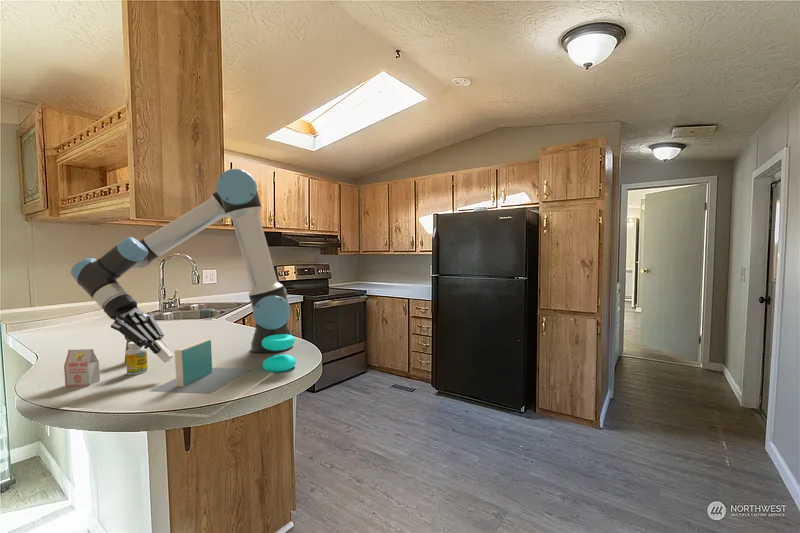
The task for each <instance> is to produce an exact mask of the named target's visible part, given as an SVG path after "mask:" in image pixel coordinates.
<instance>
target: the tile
mask: <svg viewBox="0 0 800 533" xmlns="http://www.w3.org/2000/svg"><path fill="white" fill-rule="evenodd" d="M174 360H175V361H174V362H175V379H176V385H177V386H185V385H187V384H189V383H191V382H193V381H195V380H197V379H199V378H201V377H203V376H205V375H207V374H209V373H211V372H212V368H213V361H212V360H213V358H212V340H211V339H201V340H198V341H196V342H194V343H191V344H188V345H186V346H185V345H184V346H183V347H180V348H177V349H175V350H174Z"/></svg>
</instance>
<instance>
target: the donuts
mask: <svg viewBox="0 0 800 533" xmlns="http://www.w3.org/2000/svg"><path fill="white" fill-rule="evenodd" d="M295 342H296V339H295V337H294V336H293V335H292V334H291V335H288V334H278V335H271V336H268V337H265V338H264V339H263V340H262V346H263V347H264V348H265V349H268V350H284V349H287V348H289V347H291V346H292V345H293V346H294V345H295ZM287 350H288V349H287ZM284 351H285V350H284ZM296 362H297V360H296V358H295V357H294V356H292V355H289V354H275V355H271V356H269V357H267V358H266V359H264V360H263V362H262V369H263V370H264V371H266V372H273V373H281V371H282V372H286V371H289V370H291V369H292V368H294V367H295V366H296Z"/></svg>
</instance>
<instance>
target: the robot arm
mask: <svg viewBox="0 0 800 533" xmlns="http://www.w3.org/2000/svg"><path fill="white" fill-rule="evenodd" d="M258 192H259V191H258V186H257V181H256V180H255V178H254V177H253V176H252V174H250V173H249V172H248V171H245V170H243V169H239V168H230V169H226V170H225V171H223V172H222V173H221V174H220V176H219V177H218V179H217V181H216V191H215V192H213V193H211V195H210V198H209V199H207V200H205V202H202V203H201V204H199V205H196V207H194V208H193V209H191V210H189V211H187V212H186V213H184V214H182V215H180V216H179V217H177V218H176V219H174V220H173V221H171V222H168V223H167V224H166V225H164V226H162V227H161V228H158V229H157V230H156V231H154V232H151V234H149V235H148V234H147V236H145V237H144V238H142V239H140V240H138V239H137V238H134V237H131V236H128V237H126V238H124V239H123V240H121V241H119V242H118V243H117V244H116V245H115V246H113V247H112V248H111V249H110V250H108V251H107V252H105V254H103V255H101V256H100V257H99V258H97V259H96V258H93V257H92V258H91V257H90V258H85V259H83V260H81V261H78V262H76V263H75V264H74V265H73V266H72V268H70V269H71V270H70V274H71V276H72V277H73V279H74V280H75V281H76V283H77V284H78V286H80V287H81V289H83V290H84V291H85V292H86V294H88V295H89V297H91V299H92V300H93V301H94V302H95V303H96V304H97V305H98V306H99V308H101V310H103V312H104V313H105V314H106V315H107V317H109V319H111V320H114V322H112V324H111V325H110V328H111V329H113V330H115V331H118V332H119V333H120V334H121V335H123V336H126V337H127V338H128V339H130V340H131V341H132V342H134V343H135V344H136V345H138V346H139V347H142V346H143V347H144V348H145V349H148V348H149V350H150V351H152V353H153V354H154V355H156V356H157V357H158V358H159V359H160V360H161V362H163V363H164V364H165V363H168V362H170V360H171V359H172V358H173V357H175V354H174V353H172V352H171V350H170V349H169V348H168V346H167V345H166V344H165V343H164V341H162V339H163V338H164V336H165V334H164V333H163V331H162V329H161V328H160V326H159V325H158V322H157V321H156V319H155V318H154V317H155V316H154V313H152V312H149V313H146V312H145V313H144V311H142V309H140V308H138V303H137V300H135V299H134V298H133V296H132V295H131V294H129V292H128V291H127V290H126V289H125V288H124V287H123V286H122V285H121V284H120V282H118V279H120V278H121V277H122V276H123V275H125V273H127V272H129V271H130V270H131V269H135V268H138V269H140V268H144V267H147V266H149V265H150V264H152V262H153V261H154V260H156V259H157V258H159V257H161V256H162V255H164V254H166V253H168V252H169V251H171V250H172V249H173V248H174V249H175V247H177V246H179V245H180V244H182V243H184V242H185V241H187V240H189V239H190V238H192V237H194V236H196V235H197V234H198V233H200V232H201V231H203V230H205V229H206V228H208V227H210V226H212V225H214V224H215V223H217V222H218V221H220V220H221V219H223V218H230V219H231V220H232V224H233V227H234V231H235V234H236V238H237V242H238V245H239V249H240V252H241V256H242V259H243V263H244V266H245V269H246V273H247V276H248V277H247V278H248V280H249V284H250V287H251V289H250V290H249V292H248V297H249V301H250V305H251V308H252V313H253V314H252V316H253V320H254V327H255V329H254V333H253V337H252V340H251V343H250V350H251V352H253V353H258V354H269V353H278V352H282V351H283V352H284V351H286V350H289V349H291V348H293V347H294V344H293V345H292V346H291V347H289V348H287V349H284V350H268V349H265V348H264V347H263V346H262V340H263V339H264V338H265V337H268V336H271V335H278V334H288V335H292V334H291V332H290V330H289V326H288V321H289V320H290V317H291V316H290V315H291V312H292V308H291V306H290V303H289V301H288V293H287V288H286V287H285V286H284V285H283V284H282V283H280V282H279V281H278V278H277V276H276V271H275V268H274V264H273V260H272V257H271V254H270V250H269V245H268V242H267V239H266V235H265V232H264V231H265V230H264V228H263V224H262V221H261V217H260V212H261V210H262V209H263V206H262V203H261V199H260V196H259V193H258ZM140 341H141V342H140Z"/></svg>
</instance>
